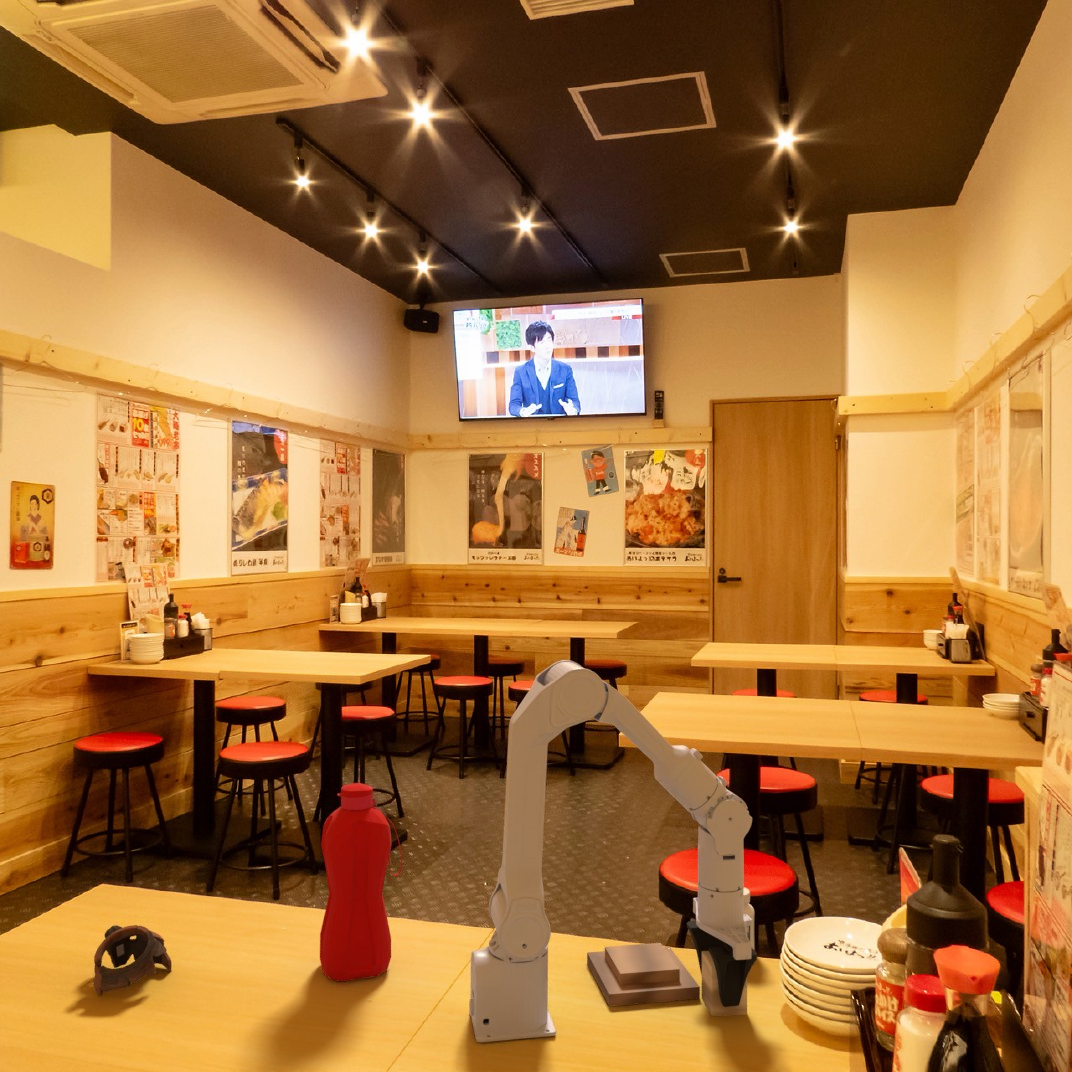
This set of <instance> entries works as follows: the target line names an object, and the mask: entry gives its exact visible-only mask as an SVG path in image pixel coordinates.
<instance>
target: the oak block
mask: <svg viewBox="0 0 1072 1072" xmlns="http://www.w3.org/2000/svg"><path fill="white" fill-rule="evenodd" d="M701 1000H702V1002H703V1003H704V1005H705V1007H706V1008H707V1010H708V1012H709V1014H710V1015H711V1017H716V1016H717V1017H718V1016H719V1017H721V1016H741V1015H742V1016H745V1015H748V977H747V978H746V981H745V984H744V988H743V992H742V996H741V1000H740V1004H739V1006H730V1007H724V1006H723V1005H722V1003H721V1000H720V995H719V986H718V978H717V973H716V968H715V965H714V962H713V959H712V957H711V955H710V953H709V951H702V975H701Z"/></svg>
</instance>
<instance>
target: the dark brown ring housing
mask: <svg viewBox="0 0 1072 1072" xmlns="http://www.w3.org/2000/svg"><path fill="white" fill-rule="evenodd" d="M103 936H104V938H105V939H103V941H102V942H101V943H100V944H99V945H98V947H97V948H96V951H95V953H94V956H93V958H94V959H93V962H94V968H93V970H94V971H93V973H94V977H93V986H94V991H95V992H96V993H97V995H98V996H99V997H100V996H102V995H103V993H104V992H109V991H115V990H119V989H123V988H124V989H125V988H128V987H130V985H131V984H134V983H137V982H139V981H140V980H142V978H144V977H145V976H148V974H157V973H158V971H157V968H156V964H157V965H161V966H163V967H164V968H166V970H167V972H168V973H172V960H171V957H170V956H169V954H168V951H167V948H166V947H165V939H164V938H163V937H162V936H161V935H160V934H158V933H157V932H154V931H152V930H150V929H149V928H147V927H146V926H142V925H136V924H134V925H127V926H124V927H122V926H120V925H116V924H114V925H111V927H109V928H108V929H107V930H106V931H105V932H104V935H103ZM131 937H135V938H131ZM106 952H107V955H108V956H109V957H110V961H111V964H112V966H113V968H109V967H107V966H105V965H103V964H102V961H103V957H104V954H105V953H106ZM132 955H133V960H134V961H133V962H131V963H130V964H127V963H128V961H130V958H131V957H132Z"/></svg>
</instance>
